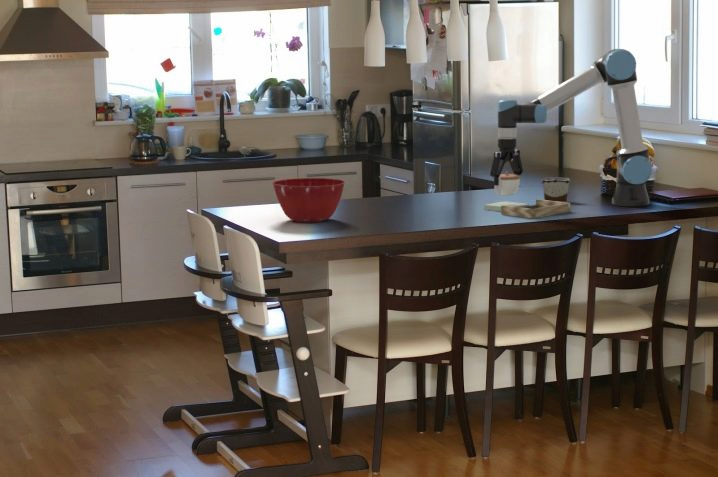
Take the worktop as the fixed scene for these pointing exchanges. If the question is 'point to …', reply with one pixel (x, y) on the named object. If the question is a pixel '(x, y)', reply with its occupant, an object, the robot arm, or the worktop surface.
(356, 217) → the worktop surface
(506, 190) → the lidded jar
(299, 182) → the mixing bowl
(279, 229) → the worktop surface
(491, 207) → the trivet
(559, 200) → the food container
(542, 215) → the cradle
